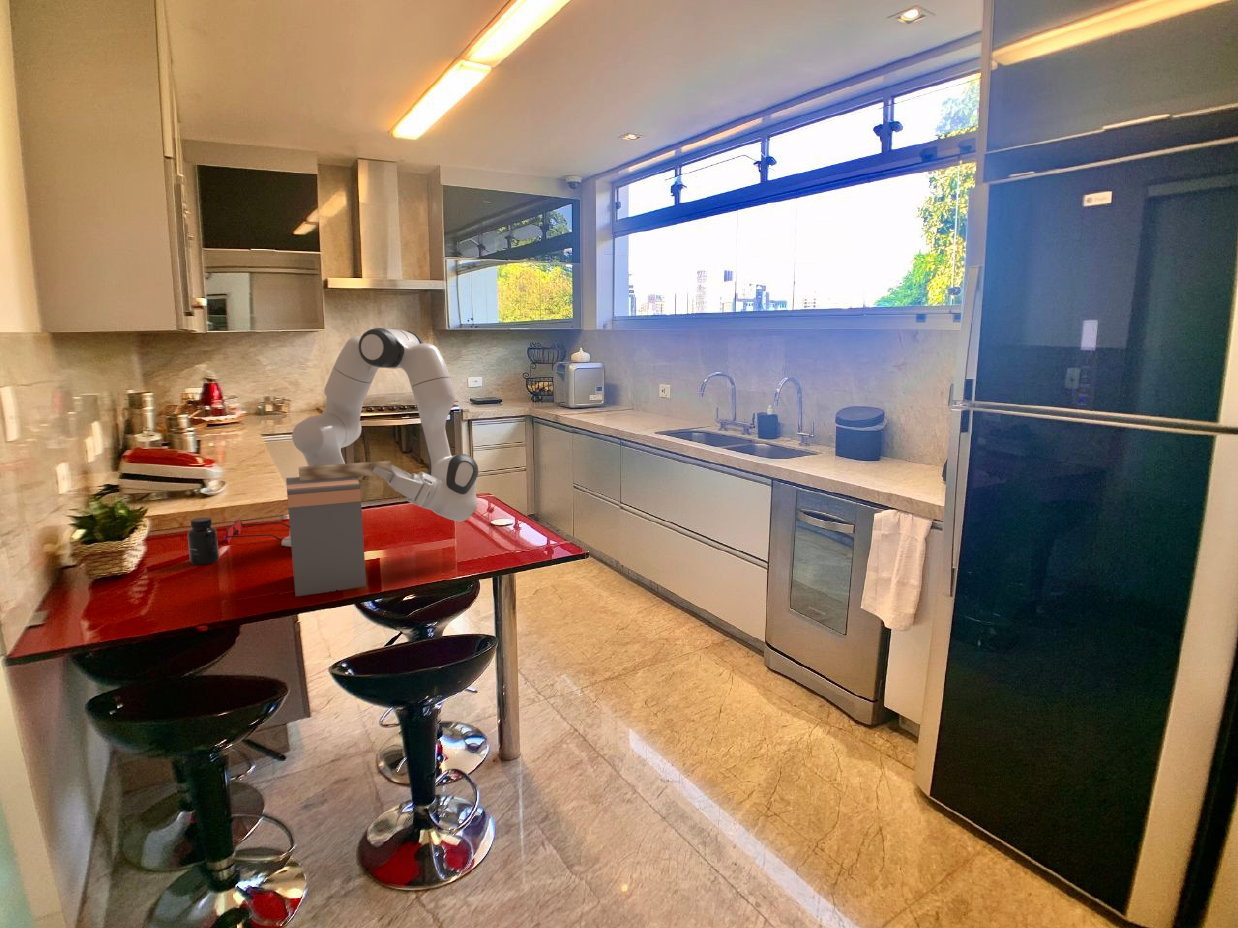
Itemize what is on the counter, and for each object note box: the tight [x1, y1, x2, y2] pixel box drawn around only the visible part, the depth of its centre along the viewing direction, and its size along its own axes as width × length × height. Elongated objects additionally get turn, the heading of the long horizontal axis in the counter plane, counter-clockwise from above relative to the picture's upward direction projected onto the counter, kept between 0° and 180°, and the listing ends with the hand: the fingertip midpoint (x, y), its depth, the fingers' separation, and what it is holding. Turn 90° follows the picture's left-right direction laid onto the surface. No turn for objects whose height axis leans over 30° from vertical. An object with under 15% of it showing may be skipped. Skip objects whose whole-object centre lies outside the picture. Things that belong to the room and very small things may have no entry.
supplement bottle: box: [187, 516, 220, 566], centre depth 185 cm, size 7×7×12 cm
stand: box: [285, 476, 367, 597], centre depth 170 cm, size 16×16×26 cm
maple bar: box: [298, 460, 393, 481], centre depth 174 cm, size 22×3×3 cm, turn 117°
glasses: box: [223, 518, 290, 544], centre depth 209 cm, size 14×16×5 cm
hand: (371, 466), depth 177 cm, fingers open, 5 cm apart
